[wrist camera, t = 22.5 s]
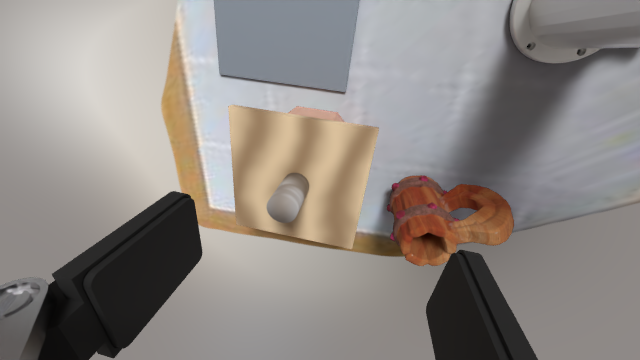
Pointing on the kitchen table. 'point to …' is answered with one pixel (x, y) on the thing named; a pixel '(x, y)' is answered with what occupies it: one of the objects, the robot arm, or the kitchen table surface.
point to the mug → (444, 219)
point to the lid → (299, 173)
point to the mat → (287, 40)
